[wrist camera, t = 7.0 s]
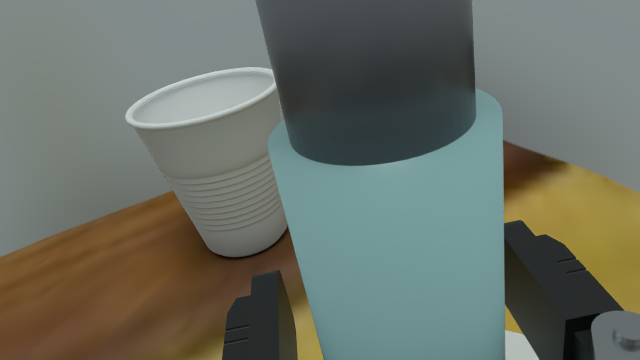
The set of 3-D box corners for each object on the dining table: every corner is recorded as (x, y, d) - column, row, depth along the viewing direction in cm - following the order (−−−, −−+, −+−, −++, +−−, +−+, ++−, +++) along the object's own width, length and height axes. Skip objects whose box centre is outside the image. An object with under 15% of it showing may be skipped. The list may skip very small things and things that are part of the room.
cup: (313, 267, 31) (272, 106, 26) (165, 288, 32) (97, 137, 27) (315, 189, 40) (285, 57, 34) (199, 208, 41) (153, 82, 35)
